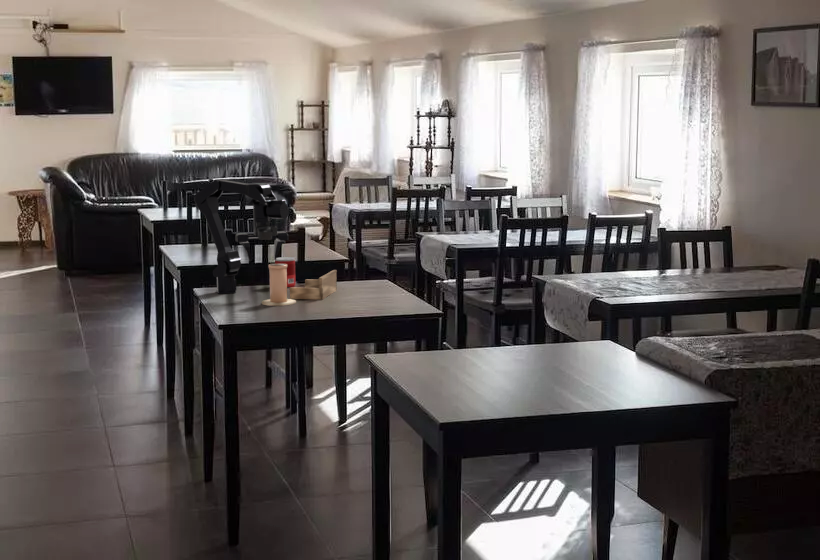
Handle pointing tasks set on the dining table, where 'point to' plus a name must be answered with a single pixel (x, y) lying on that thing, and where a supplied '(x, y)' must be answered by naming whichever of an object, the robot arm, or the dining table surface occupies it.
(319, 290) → the cold frame
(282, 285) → the terracotta pot
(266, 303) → the cream flat disc
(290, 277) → the canned food
